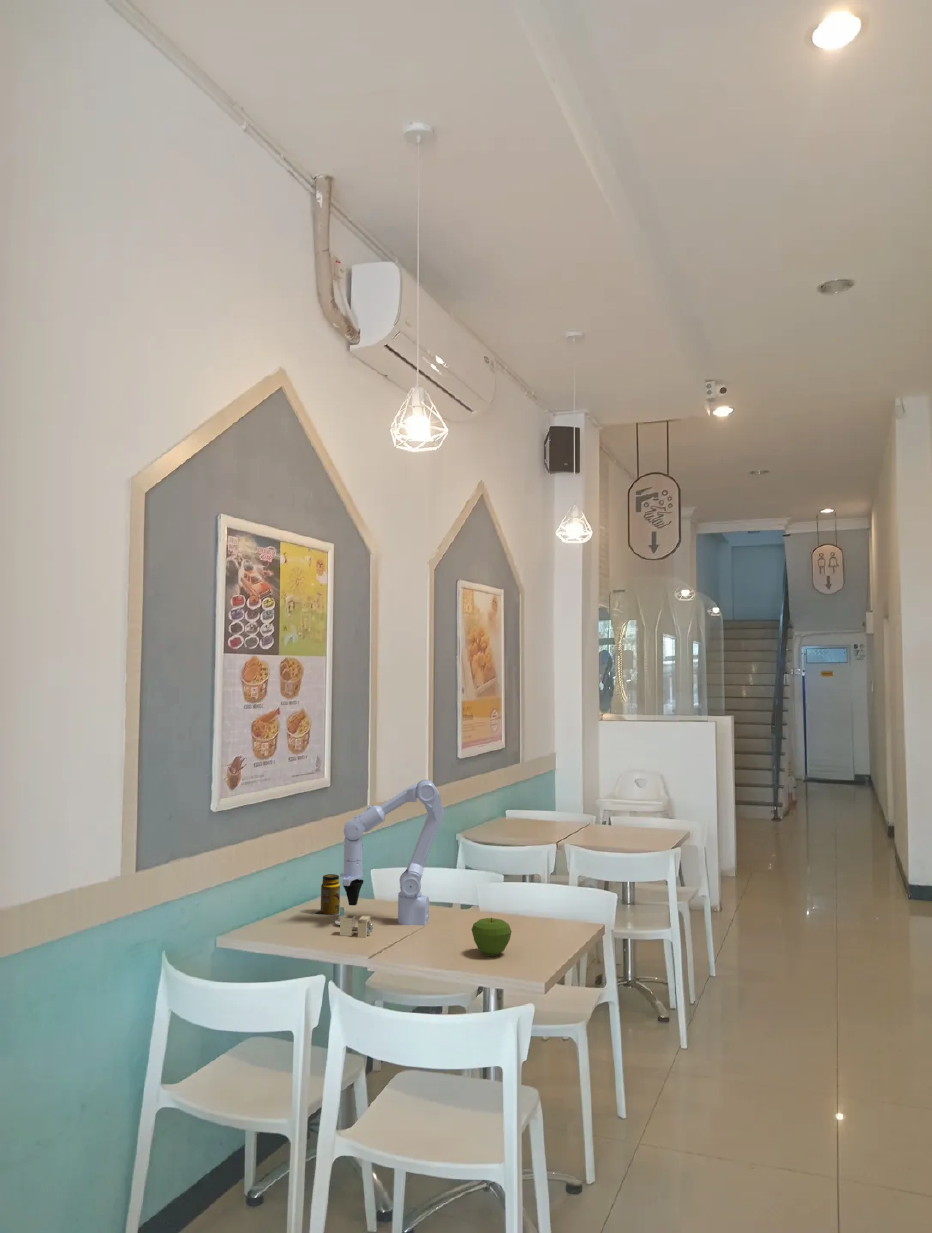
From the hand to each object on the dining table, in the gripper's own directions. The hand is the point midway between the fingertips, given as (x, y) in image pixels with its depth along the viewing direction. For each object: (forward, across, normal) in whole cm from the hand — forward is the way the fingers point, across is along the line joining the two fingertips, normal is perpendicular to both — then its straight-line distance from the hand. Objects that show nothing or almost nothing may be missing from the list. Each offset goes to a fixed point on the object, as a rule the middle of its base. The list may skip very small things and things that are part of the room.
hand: (352, 904), depth 275 cm
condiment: (+6, -12, -12) cm, 19 cm away
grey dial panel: (+6, +8, +2) cm, 10 cm away
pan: (+5, +2, -3) cm, 6 cm away
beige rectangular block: (+5, +12, +5) cm, 15 cm away
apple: (+7, +20, +46) cm, 51 cm away
